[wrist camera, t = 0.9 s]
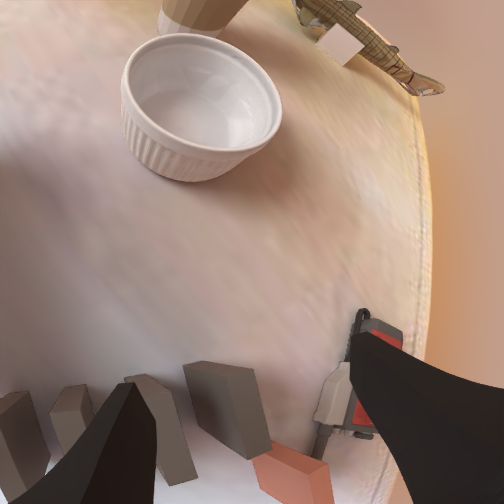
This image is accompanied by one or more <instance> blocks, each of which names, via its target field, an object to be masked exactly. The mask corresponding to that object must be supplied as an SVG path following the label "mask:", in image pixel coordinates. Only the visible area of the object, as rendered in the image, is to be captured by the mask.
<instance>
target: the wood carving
mask: <svg viewBox="0 0 504 504" xmlns="http://www.w3.org/2000/svg"><path fill="white" fill-rule="evenodd" d="M292 3H293V6H294V8H295V10H296V13H297V16H298V19H299V21H300V24H301V25H302V26H306V27H309V28H312V27H311V26H319V27H322V28H325V29H326V30H325V31H324V32H323V33H322V34H321V36H320V38H319V39H318V41H317V43H316V46H317V47H318V48H320V49H321V50H322V51H324V52H325V53H326V54H328V55H329V56H330V57H331V58H333V59H334V60H335V61H337V62H338V63H339V64H340V65H341V66H343V65H344V64H345V63H347V62H348V61H349V60H350V59H351V58H352V57H353V56H354V55H356V54H357V53H358V54H360V55H362V56H363V57H364V58H365V59H367V60H368V61H370V62H371V63H373V64H374V65H375V66H377V67H379V68H380V69H381V70H383V71H384V72H386V73H387V74H389V75H390V76H391V77H393V78H394V79H395V80H396V81H397V82H398V83H399V84H400V85H401V86H402V87H403V88H404V89H405V90H406V91H407V92H408V93H409V94H411V95H412V96H425V95H423V91H425V90H427V89H434V91H433V92H432V93H429V94H426V95H436V94H440V93H443V92H444V91H445V87H444V85H443V84H441V83H439V82H438V81H435V80H433V79H431V78H429V77H426V76H423V75H420V74H417V73H415V72H413V71H412V70H411V69H410V68H409V67H408V66H407V65H406V64H405V63H404V62H403V61H402V60H401V59H400V58H399V57H398V55H397V53H398V52H399V49H398V48H397V47H395V46H388V45H387V44H386V43H385V42H384V41H383V40H382V39H381V38H380V37H379V36H378V35H376V34H375V33H374V32H373V30H371V29H370V28H369V27H367V26H366V25H365V24H364V23H363V22H362V21H361V20H360V19H358V18H357V17H356V16H355V14H356V12H357V11H358V10H359V9H360V8H362V7H361V6H360V5H359V4H358V3H356V2H353V1H346V0H343V1H337V0H292ZM296 6H297V7H298V8H299V9H300V12H299V11H298V10H297V8H296ZM309 25H310V26H309ZM313 29H314V28H313ZM400 82H401V83H402V82H403V83H404V84H406V86H407V87H408V89H407V88H406V87H404V86H403V85H402V84H401V83H400Z"/></svg>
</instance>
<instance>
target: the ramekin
mask: <svg viewBox="0 0 504 504" xmlns="http://www.w3.org/2000/svg"><path fill="white" fill-rule="evenodd" d="M121 95H122V107H121V126H122V133H123V135H124V139H125V142H126V143H127V145H128V148H129V149H130V150H131V152H132V153H133V155H134V156H135V157H136V158H137V159H138V160H139V161H140V162H141V163H142V164H143V165H145V166H146V167H147V168H149V169H151V170H152V171H154V172H156V173H158V174H159V175H162V176H165V177H167V178H170V179H175V180H178V181H185V182H190V181H191V182H198V181H206V180H208V179H213V178H216V177H218V176H221V175H223V174H224V173H226V172H228V171H229V170H231V169H232V168H234V167H235V166H237V165H238V164H239V163H240V162H242V161H243V160H244V159H245V158H247V157H248V156H250V155H253V154H254V153H256V152H258V151H259V150H261V149H262V148H263V147H265V146H266V145H267V144H268V143H269V141H270V140H271V139H272V138H273V137H274V136H275V134H276V133H277V131H278V130H279V127H280V125H281V122H282V117H283V108H282V101H281V98H280V95H279V92H278V90H277V88H276V86H275V84H274V83H273V81H272V79H271V78H270V77H269V75H268V74H267V73H266V71H265V70H264V69H263V68H262V67H261V66H260V65H259V64H258V63H257V62H256V61H254V60H253V59H252V58H251V57H250V56H248V55H247V54H245V53H244V52H242V51H241V50H239V49H237V48H236V47H234V46H232V45H230V44H228V43H226V42H223V41H221V40H218V39H215V38H212V37H208V36H203V35H198V34H189V33H176V34H167V35H163V36H159V37H157V38H154V39H151V40H149V41H147V42H145V43H144V44H142V45H141V46H140V47H139V48H137V49H136V50H135V51H134V52H133V54H132V55H131V56H130V58H129V60H128V62H127V64H126V66H125V69H124V72H123V75H122V80H121Z"/></svg>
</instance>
